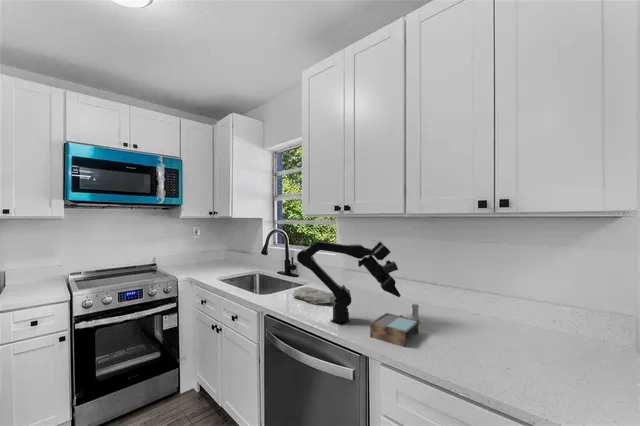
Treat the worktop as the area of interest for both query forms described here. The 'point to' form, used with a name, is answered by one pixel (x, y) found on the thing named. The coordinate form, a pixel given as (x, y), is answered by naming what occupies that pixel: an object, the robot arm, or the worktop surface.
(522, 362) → the worktop surface
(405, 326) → the trapdoor flap
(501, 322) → the worktop surface
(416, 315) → the rook chess piece
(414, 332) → the walnut stand
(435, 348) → the worktop surface
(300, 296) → the fossil stone
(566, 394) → the worktop surface
